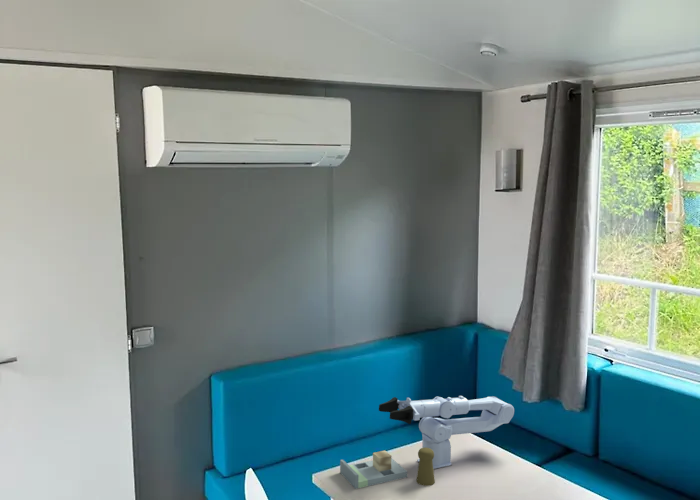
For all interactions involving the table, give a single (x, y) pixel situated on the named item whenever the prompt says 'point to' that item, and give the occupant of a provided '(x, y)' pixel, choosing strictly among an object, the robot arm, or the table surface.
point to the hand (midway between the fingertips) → (384, 411)
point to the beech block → (382, 460)
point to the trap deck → (370, 473)
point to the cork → (425, 467)
